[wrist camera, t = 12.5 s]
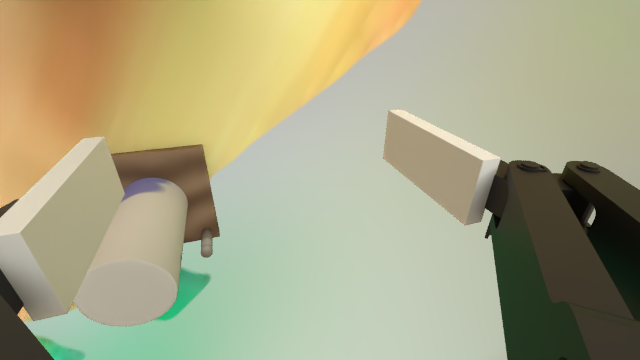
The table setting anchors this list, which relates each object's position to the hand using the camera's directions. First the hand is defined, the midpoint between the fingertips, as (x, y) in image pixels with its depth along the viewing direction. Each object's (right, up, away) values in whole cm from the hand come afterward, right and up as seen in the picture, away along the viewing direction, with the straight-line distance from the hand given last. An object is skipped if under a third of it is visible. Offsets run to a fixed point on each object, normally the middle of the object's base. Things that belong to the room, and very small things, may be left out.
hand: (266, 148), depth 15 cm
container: (-25, -5, +36) cm, 44 cm away
